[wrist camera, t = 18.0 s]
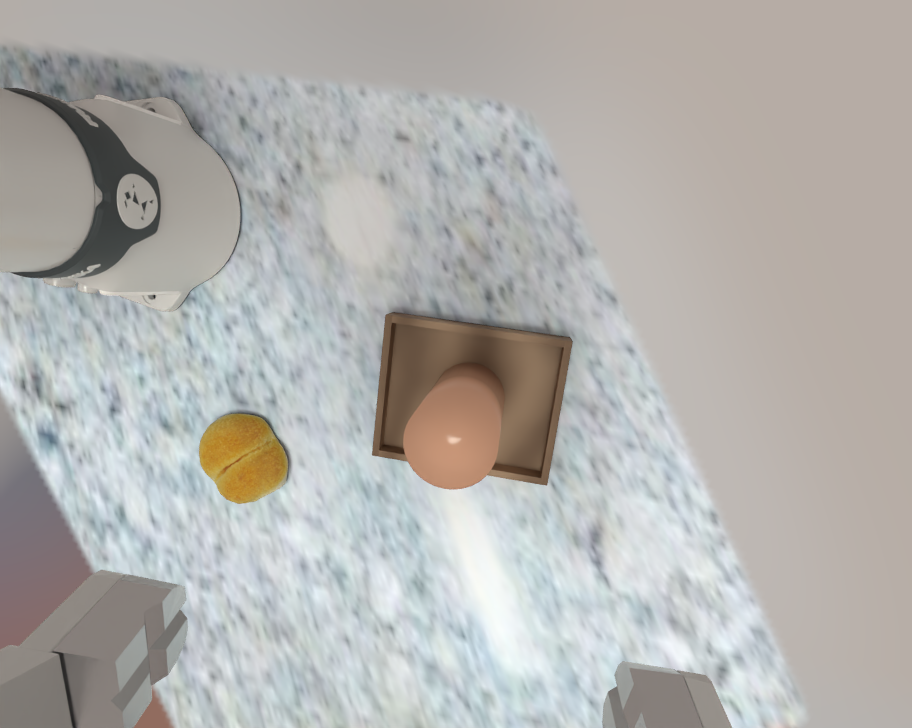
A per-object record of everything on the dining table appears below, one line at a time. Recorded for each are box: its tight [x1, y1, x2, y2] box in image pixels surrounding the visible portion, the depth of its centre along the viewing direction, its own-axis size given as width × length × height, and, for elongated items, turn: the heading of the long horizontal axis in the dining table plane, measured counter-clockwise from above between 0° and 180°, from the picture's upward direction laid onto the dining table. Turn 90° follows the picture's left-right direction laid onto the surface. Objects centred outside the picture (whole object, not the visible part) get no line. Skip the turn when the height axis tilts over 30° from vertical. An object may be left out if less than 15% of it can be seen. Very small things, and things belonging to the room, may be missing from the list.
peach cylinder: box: [403, 363, 505, 489], centre depth 39 cm, size 6×6×12 cm
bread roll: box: [199, 413, 288, 504], centre depth 48 cm, size 8×9×4 cm
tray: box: [372, 312, 573, 485], centre depth 44 cm, size 16×13×2 cm
